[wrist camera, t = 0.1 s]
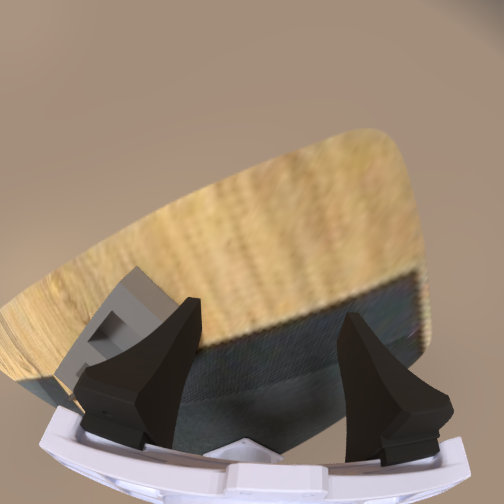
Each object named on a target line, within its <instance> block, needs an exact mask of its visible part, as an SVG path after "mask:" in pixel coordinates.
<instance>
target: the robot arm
mask: <svg viewBox="0 0 504 504" xmlns="http://www.w3.org/2000/svg"><path fill="white" fill-rule="evenodd" d="M201 332H202V318H201V299H199V298H192V297H188V298H187V299H186V300H185V301H184V302H183V303H182V304H181V305H180V306H179V307H178V308H177V309H176V310H175V311H174V312H173V313H172V314H171V315H170V316H169V317H168V318H167V319H166V320H165V321H164V322H163V323H162V324H161V325H160V326H159V327H158V328H156V329H155V330H154V331H153V332H152V333H151V334H149V335H148V336H147V337H145V338H144V339H143V340H141V341H140V342H139V343H137V344H136V345H134V346H132V347H131V348H129V349H127V350H126V351H124V352H122V353H120V354H118V355H116V356H114V357H112V358H110V359H108V360H106V361H103V362H101V363H98V364H95V365H92V366H90V367H86V368H85V370H84V371H83V373H82V374H81V376H80V378H79V380H78V381H77V383H76V385H75V387H74V389H73V393H74V396H75V397H76V399H77V401H78V402H79V404H80V405H81V406H82V408H83V409H84V411H85V414H84V416H83V417H82V416H81V415H79V414H78V413H76V412H73V411H71V410H69V409H66V408H64V407H62V406H58V407H57V409H56V411H55V413H54V415H53V417H52V419H51V421H50V423H49V425H48V427H47V429H46V431H45V433H44V435H43V437H42V439H41V442H40V443H39V445H40V447H41V448H43V449H44V450H45V451H46V452H47V453H48V454H50V455H51V456H52V457H53V458H55V459H56V460H57V461H58V462H60V463H61V464H62V465H64V466H66V467H68V468H69V469H72V470H73V471H75V472H78V473H80V474H82V475H84V476H86V477H88V478H90V479H92V480H95V481H97V482H99V483H101V484H104V485H106V486H108V487H110V488H113V489H115V490H118V491H120V492H123V493H125V494H128V495H131V496H133V497H136V498H139V499H142V500H145V501H148V502H151V503H154V504H410V503H413V502H417V501H420V500H423V499H426V498H429V497H432V496H435V495H438V494H440V493H443V492H445V491H447V490H449V489H450V488H452V487H454V486H455V485H457V484H459V483H461V482H462V481H464V480H466V479H467V478H469V477H470V476H471V472H470V468H469V465H468V460H467V457H466V453H465V449H464V446H463V443H462V439H461V437H456V438H452V439H448V440H445V441H442V442H440V443H438V441H437V438H439V437H440V434H439V429H440V428H441V427H442V426H444V425H445V423H447V422H448V420H449V419H450V418H451V417H452V415H453V413H454V409H453V407H452V404H451V401H450V398H449V396H448V395H446V394H444V393H442V392H440V391H438V390H437V389H435V388H433V387H431V386H429V385H428V384H427V383H425V382H424V381H422V380H421V379H419V378H418V377H417V376H416V375H414V374H413V373H412V372H410V371H409V370H408V369H407V368H406V367H405V366H404V365H402V364H401V363H400V362H399V361H398V360H397V359H396V358H395V357H394V356H393V355H392V354H391V353H390V351H389V350H388V349H387V348H386V347H385V346H384V345H383V344H382V342H381V341H380V340H379V339H378V338H377V336H376V335H375V334H374V332H373V331H372V330H371V329H370V327H369V326H368V325H367V323H366V322H365V321H364V319H363V318H362V317H361V316H360V314H359V313H351V312H347V314H346V317H345V320H344V323H343V325H342V328H341V331H340V334H339V337H338V339H337V352H338V361H339V367H340V372H341V377H342V382H343V388H344V393H345V400H346V418H347V438H346V440H347V441H346V457H345V463H337V464H275V463H277V462H279V461H282V460H284V457H283V456H281V455H279V454H277V453H275V452H273V451H271V450H269V449H267V448H265V447H263V446H262V445H260V444H258V443H256V442H254V441H252V440H250V439H249V438H243V439H241V440H239V441H236V442H234V443H231V444H229V445H226V446H224V447H221V448H219V449H216V450H214V451H211V452H208V453H206V454H203V456H200V455H194V454H189V453H184V452H179V451H175V450H172V444H173V437H174V431H175V426H176V420H177V415H178V410H179V405H180V401H181V396H182V392H183V388H184V385H185V381H186V379H187V376H188V373H189V370H190V368H191V365H192V362H193V359H194V357H195V354H196V351H197V348H198V345H199V341H200V336H201Z"/></svg>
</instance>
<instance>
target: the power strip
mask: <svg viewBox="0 0 504 504" xmlns="http://www.w3.org/2000/svg"><path fill="white" fill-rule="evenodd" d="M178 307H179V305H178V304H177V303H175V302H174V301H173V300H172V299H171V298H170V297H169V296H168V295H167V294H166V293H165V292H163V291H162V290H161V289H160V288H159V287H158V286H157V285H156V284H155V283H154V282H153V281H152V280H151V279H150V278H149V277H148V276H147V275H146V274H144V273H143V272H142V271H141V270H140V269H139V268H138V267H137V266H136V267H135V268H134V269H133V270H132V271H131V272H130V273H129V274H127V275H126V276H125V277H124V278H123V279H122V280H121V281H120V282H119V283H118V284H117V286H116V287H115V288H114V289H113V291H112V292H111V293H110V295H109V296H108V297H107V299H106V300H105V301H104V303H103V304H102V305H101V307H100V308H99V309H98V311H97V312H96V313H95V315H94V316H93V317H92V319H91V320H90V322H89V323H88V324H87V326H86V327H85V329H84V330H83V331H82V333H81V334H80V336H79V337H78V339H77V340H76V341H75V343H74V344H73V346H72V347H71V349H70V350H69V352H68V353H67V355H66V356H65V358H64V359H63V361H62V362H61V364H60V365H59V367H58V368H57V370H56V372H55V373H54V375H55V376H56V377H57V378H58V379H59V380H60V381H62V382H63V383H64V384H65V385H66V386H67V387H68V388H69V389H70V390H72V391H73V389H74V387H75V385H76V383H77V381H78V380H79V378H80V376H81V374H82V373H83V371H84V370H85V368H86V367H90V366H92V365H95V364H98V363H101V362H103V361H106V360H108V359H110V358H112V357H114V356H116V355H118V354H120V353H122V352H124V351H126V350H127V349H129V348H131V347H132V346H134V345H136V344H137V343H139V342H140V341H141V340H143V339H144V338H145V337H147V336H148V335H149V334H151V333H152V332H153V331H154V330H155V329H156V328H158V327H159V326H160V325H161V324H162V323H163V322H164V321H165V320H166V319H167V318H168V317H169V316H170V315H171V314H172V313H173V312H174V311H175V310H176V309H177V308H178ZM74 398H75V396H74V393H72V394H71V395H70V396H69V398H68V399H69V400H70V401H73V400H74Z"/></svg>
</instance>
